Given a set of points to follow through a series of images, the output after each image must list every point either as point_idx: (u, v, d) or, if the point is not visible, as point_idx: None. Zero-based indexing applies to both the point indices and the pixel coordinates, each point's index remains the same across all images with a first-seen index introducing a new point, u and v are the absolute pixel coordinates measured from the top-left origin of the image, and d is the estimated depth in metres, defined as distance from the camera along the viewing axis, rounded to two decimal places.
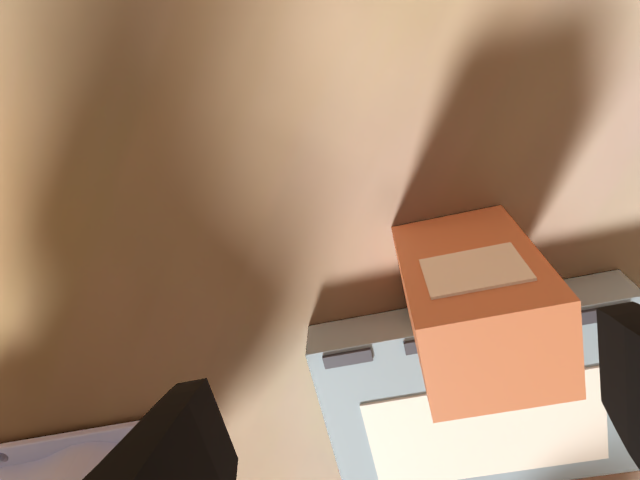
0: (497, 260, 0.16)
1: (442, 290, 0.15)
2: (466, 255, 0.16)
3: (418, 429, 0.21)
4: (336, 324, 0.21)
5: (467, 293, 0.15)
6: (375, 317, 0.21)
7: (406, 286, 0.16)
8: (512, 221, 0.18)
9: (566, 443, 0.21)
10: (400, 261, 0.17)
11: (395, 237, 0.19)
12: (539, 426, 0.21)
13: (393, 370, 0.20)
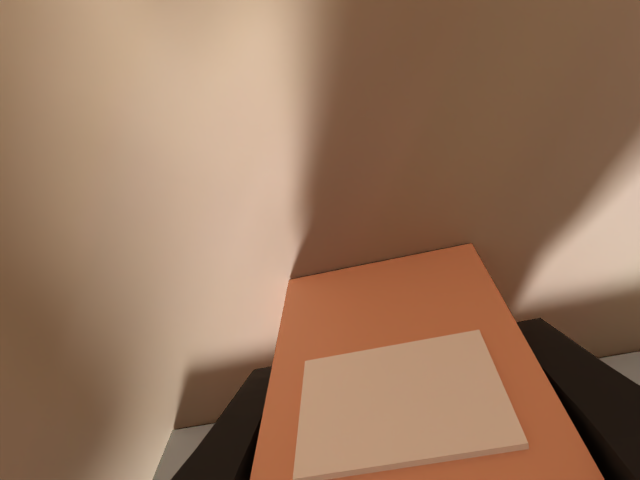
0: (448, 378, 0.08)
1: (323, 457, 0.07)
2: (392, 358, 0.08)
3: None
4: None
5: (373, 468, 0.07)
6: None
7: (261, 432, 0.08)
8: (487, 279, 0.10)
9: None
10: (275, 360, 0.09)
11: (287, 302, 0.11)
12: None
13: None
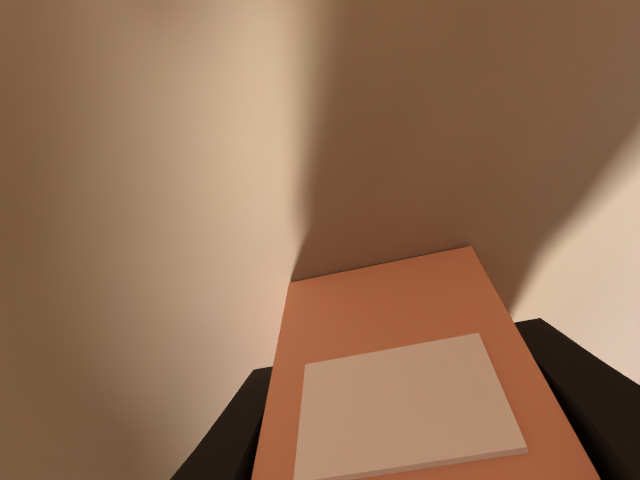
0: (448, 381, 0.08)
1: (322, 461, 0.07)
2: (391, 361, 0.08)
3: None
4: None
5: (373, 472, 0.07)
6: None
7: (262, 436, 0.08)
8: (486, 281, 0.10)
9: None
10: (275, 363, 0.09)
11: (287, 305, 0.11)
12: None
13: None
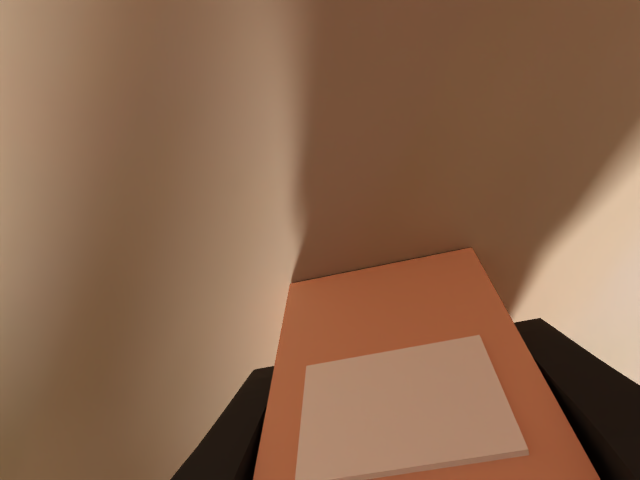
0: (449, 383, 0.08)
1: (323, 463, 0.07)
2: (392, 363, 0.08)
3: None
4: None
5: (374, 474, 0.07)
6: None
7: (263, 437, 0.08)
8: (487, 283, 0.10)
9: None
10: (276, 365, 0.09)
11: (288, 306, 0.11)
12: None
13: None
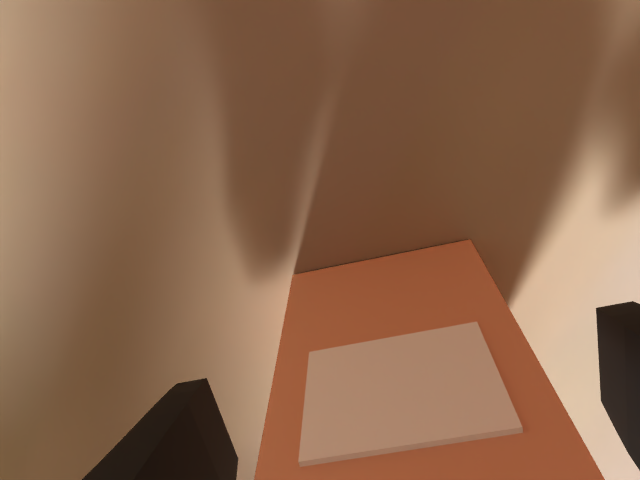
0: (447, 367, 0.08)
1: (326, 441, 0.07)
2: (392, 348, 0.09)
3: None
4: None
5: (375, 452, 0.07)
6: None
7: (268, 418, 0.08)
8: (485, 273, 0.10)
9: None
10: (280, 351, 0.09)
11: (291, 296, 0.11)
12: None
13: None
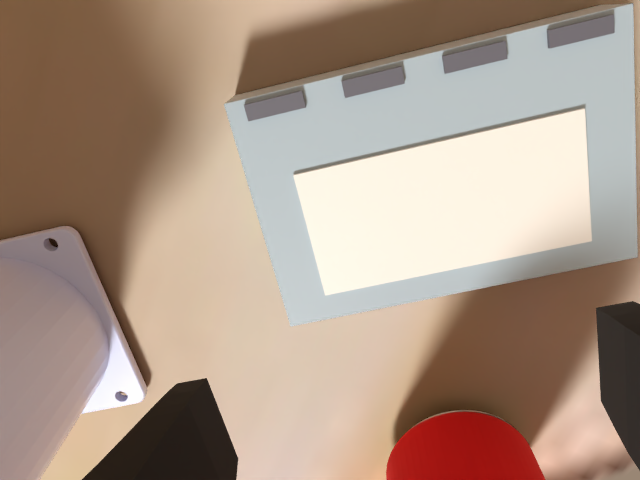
0: None
1: None
2: None
3: (365, 206, 0.17)
4: (266, 88, 0.18)
5: None
6: (312, 76, 0.18)
7: None
8: None
9: (541, 221, 0.17)
10: None
11: None
12: (509, 198, 0.17)
13: (331, 124, 0.16)
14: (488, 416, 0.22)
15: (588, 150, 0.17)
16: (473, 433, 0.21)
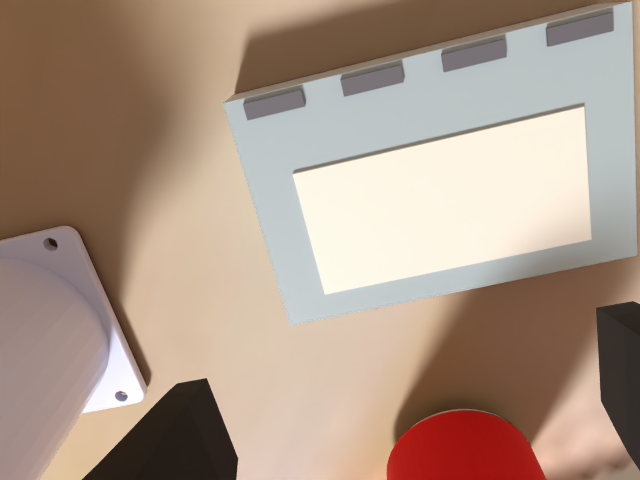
0: None
1: None
2: None
3: (365, 205, 0.17)
4: (265, 87, 0.18)
5: None
6: (311, 75, 0.18)
7: None
8: None
9: (541, 220, 0.17)
10: None
11: None
12: (508, 196, 0.17)
13: (330, 123, 0.16)
14: (488, 415, 0.22)
15: (587, 148, 0.17)
16: (473, 432, 0.21)
